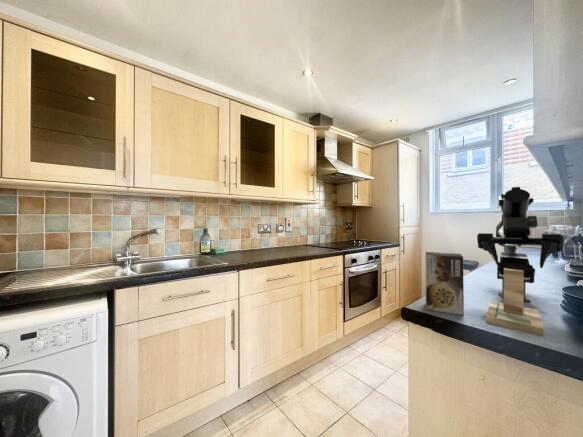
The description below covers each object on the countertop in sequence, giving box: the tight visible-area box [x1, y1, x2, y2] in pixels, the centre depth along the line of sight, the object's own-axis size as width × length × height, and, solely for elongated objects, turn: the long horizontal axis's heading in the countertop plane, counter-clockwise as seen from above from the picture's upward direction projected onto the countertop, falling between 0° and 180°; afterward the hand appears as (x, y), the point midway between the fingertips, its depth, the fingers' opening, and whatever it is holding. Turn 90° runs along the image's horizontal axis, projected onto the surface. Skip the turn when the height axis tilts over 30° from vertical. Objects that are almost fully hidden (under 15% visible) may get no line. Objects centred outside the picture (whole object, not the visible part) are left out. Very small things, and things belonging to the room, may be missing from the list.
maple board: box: [485, 300, 545, 337], centre depth 61 cm, size 16×10×2 cm, turn 136°
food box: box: [425, 251, 465, 316], centre depth 68 cm, size 9×6×16 cm
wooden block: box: [503, 268, 525, 316], centre depth 63 cm, size 6×4×11 cm, turn 136°
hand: (518, 265), depth 68 cm, fingers open, 9 cm apart
